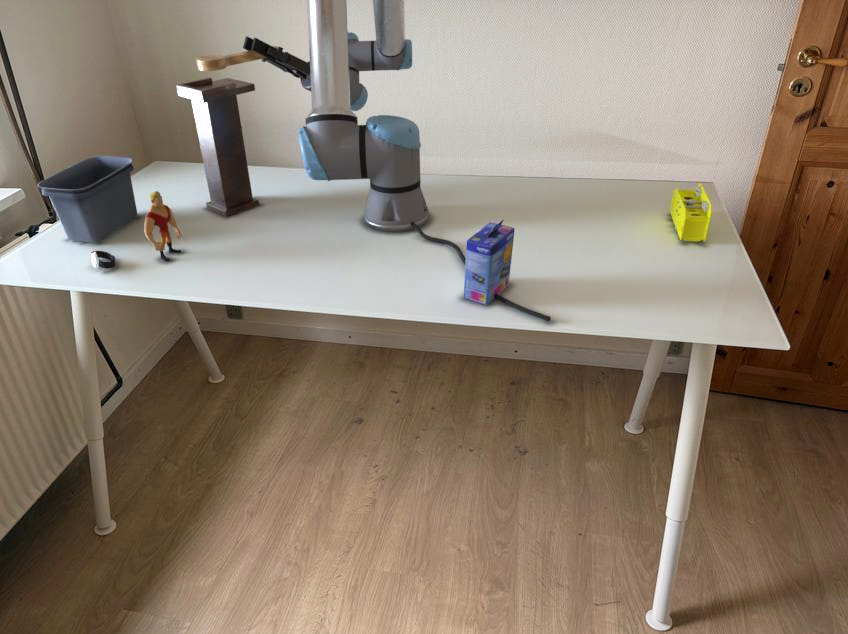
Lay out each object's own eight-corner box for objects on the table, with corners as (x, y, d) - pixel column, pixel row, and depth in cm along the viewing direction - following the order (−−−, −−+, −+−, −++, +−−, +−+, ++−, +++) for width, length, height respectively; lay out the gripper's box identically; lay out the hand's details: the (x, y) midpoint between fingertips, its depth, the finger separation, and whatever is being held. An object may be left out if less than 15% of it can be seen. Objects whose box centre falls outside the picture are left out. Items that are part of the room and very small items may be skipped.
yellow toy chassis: (706, 245, 144) (715, 207, 139) (678, 243, 145) (686, 206, 140) (694, 215, 157) (702, 180, 152) (667, 214, 158) (674, 179, 153)
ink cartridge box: (488, 306, 126) (492, 234, 118) (462, 299, 129) (464, 228, 121) (511, 284, 133) (516, 214, 125) (486, 278, 136) (489, 209, 128)
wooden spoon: (269, 52, 168) (268, 43, 166) (285, 55, 164) (284, 45, 162) (192, 69, 155) (190, 58, 154) (208, 72, 151) (206, 61, 150)
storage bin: (98, 250, 155) (80, 189, 147) (43, 243, 159) (22, 184, 151) (153, 214, 171) (139, 158, 163) (102, 209, 176) (85, 154, 168)
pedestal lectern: (246, 193, 181) (227, 73, 164) (271, 202, 174) (253, 79, 158) (201, 208, 173) (175, 84, 156) (225, 219, 167) (201, 91, 150)
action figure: (163, 266, 146) (147, 199, 138) (150, 264, 148) (132, 197, 139) (189, 248, 154) (175, 183, 145) (176, 246, 155) (161, 182, 146)
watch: (87, 263, 150) (83, 247, 147) (108, 256, 152) (104, 241, 150) (101, 274, 145) (96, 259, 142) (122, 267, 147) (117, 252, 145)
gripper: (305, 61, 181) (234, 23, 163) (344, 68, 172) (274, 29, 154) (297, 89, 183) (226, 55, 165) (335, 98, 173) (264, 63, 155)
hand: (249, 43), depth 159 cm, fingers closed on wooden spoon, 3 cm apart
